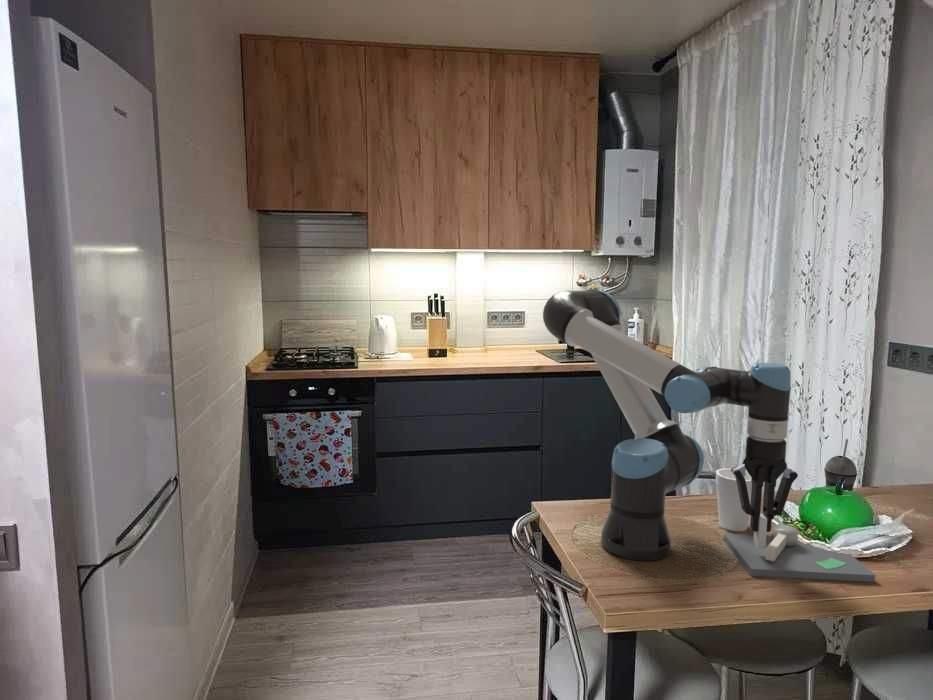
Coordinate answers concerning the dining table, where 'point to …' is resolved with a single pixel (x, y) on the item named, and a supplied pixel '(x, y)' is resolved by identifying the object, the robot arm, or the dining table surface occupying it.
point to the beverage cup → (841, 470)
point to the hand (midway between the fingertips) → (759, 545)
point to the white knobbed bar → (781, 540)
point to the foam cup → (731, 500)
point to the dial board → (797, 561)
